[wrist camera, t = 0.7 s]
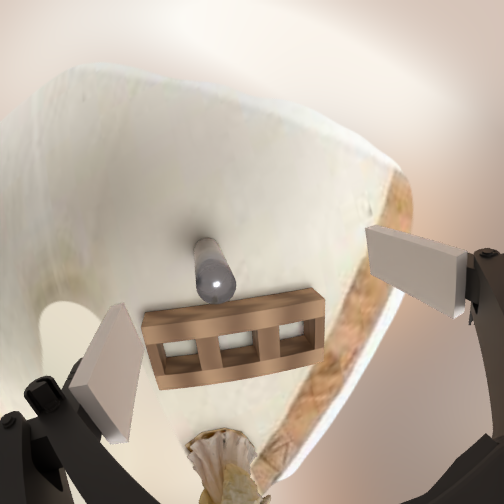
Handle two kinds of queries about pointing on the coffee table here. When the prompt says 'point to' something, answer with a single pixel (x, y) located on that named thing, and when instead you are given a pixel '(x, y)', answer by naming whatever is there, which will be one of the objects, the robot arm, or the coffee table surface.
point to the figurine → (225, 467)
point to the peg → (212, 273)
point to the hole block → (228, 322)
